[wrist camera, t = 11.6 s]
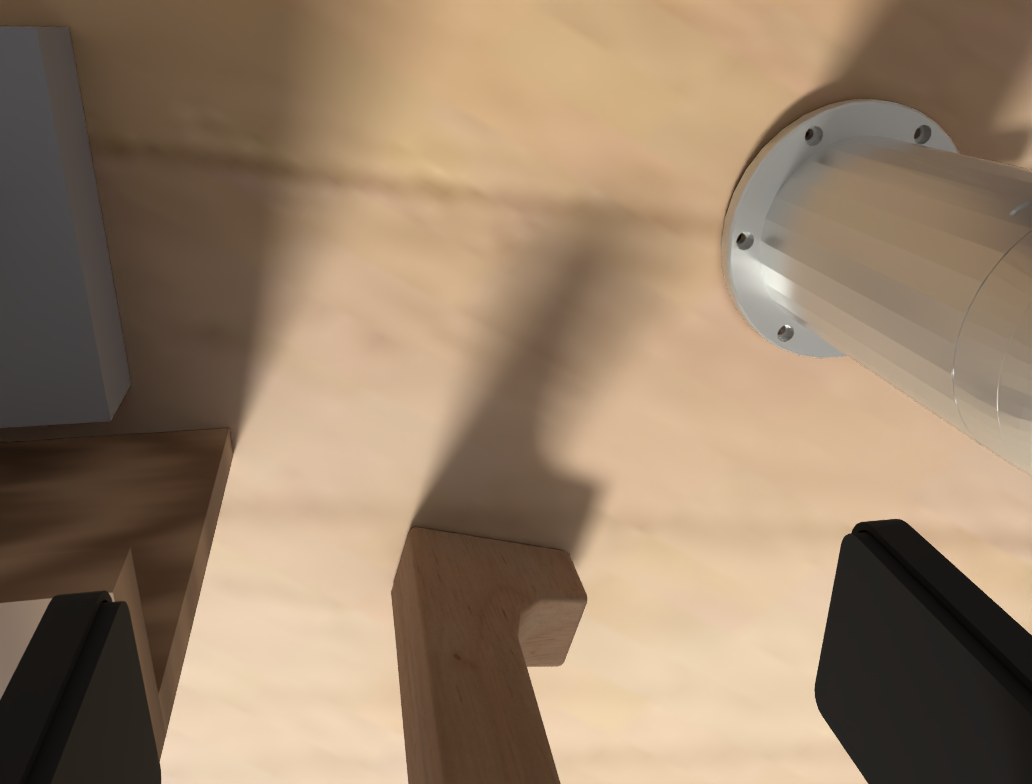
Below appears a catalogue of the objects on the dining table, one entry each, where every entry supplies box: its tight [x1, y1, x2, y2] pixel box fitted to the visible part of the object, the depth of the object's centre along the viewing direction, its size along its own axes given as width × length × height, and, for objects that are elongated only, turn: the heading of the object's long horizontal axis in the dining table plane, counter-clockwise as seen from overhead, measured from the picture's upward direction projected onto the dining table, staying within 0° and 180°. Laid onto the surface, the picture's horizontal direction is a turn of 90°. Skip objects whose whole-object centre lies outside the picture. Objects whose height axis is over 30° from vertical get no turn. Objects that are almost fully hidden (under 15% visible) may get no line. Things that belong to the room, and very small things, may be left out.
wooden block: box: [391, 527, 587, 784], centre depth 39 cm, size 9×4×18 cm, turn 73°
